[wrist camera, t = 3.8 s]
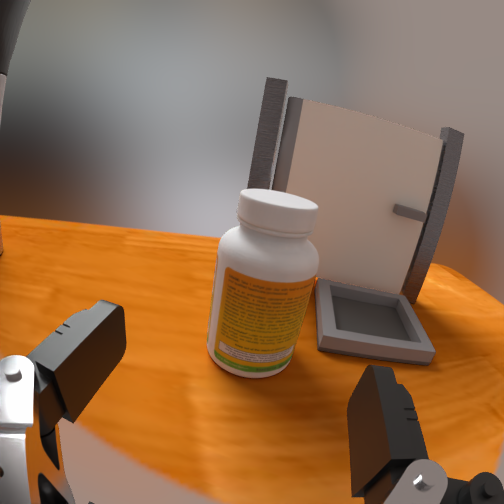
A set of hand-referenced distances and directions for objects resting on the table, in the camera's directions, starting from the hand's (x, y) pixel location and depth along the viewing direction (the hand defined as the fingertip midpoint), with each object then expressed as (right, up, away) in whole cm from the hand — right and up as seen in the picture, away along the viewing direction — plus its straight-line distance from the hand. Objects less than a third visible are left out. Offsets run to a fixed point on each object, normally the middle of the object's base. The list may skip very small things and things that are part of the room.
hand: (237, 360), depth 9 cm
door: (+8, +1, +20) cm, 22 cm away
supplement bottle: (0, -3, +10) cm, 10 cm away
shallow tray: (+10, -3, +14) cm, 18 cm away
